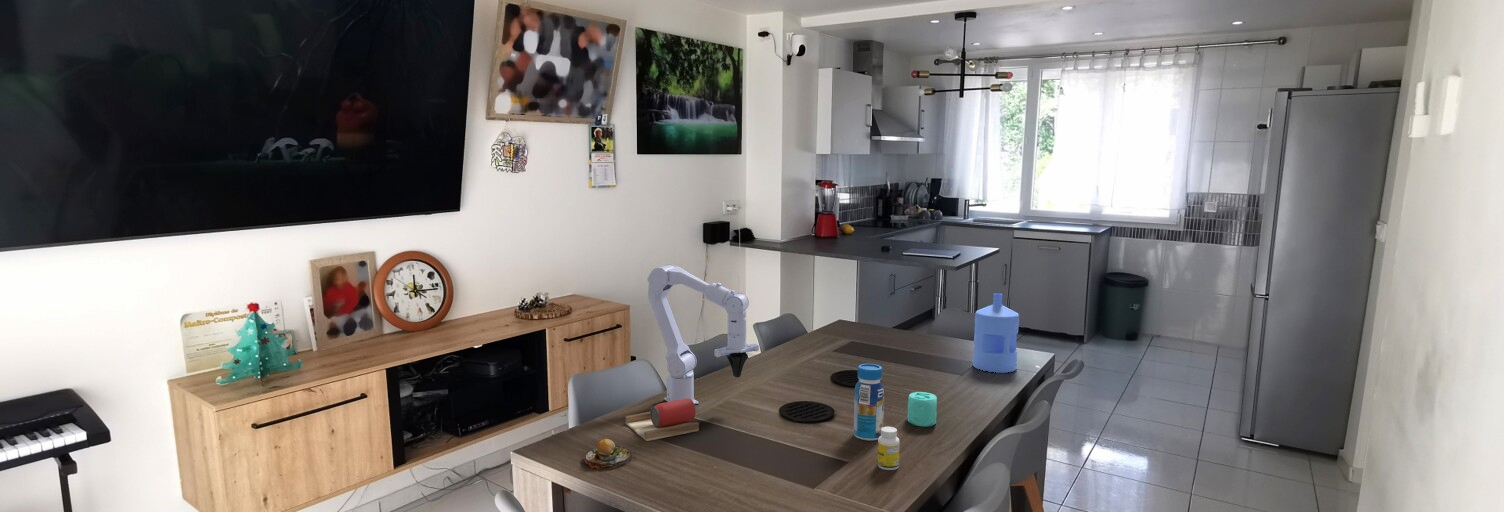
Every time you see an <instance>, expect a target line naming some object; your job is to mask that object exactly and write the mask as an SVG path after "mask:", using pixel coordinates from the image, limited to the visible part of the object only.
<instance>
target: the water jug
mask: <svg viewBox="0 0 1504 512" xmlns="http://www.w3.org/2000/svg"><path fill="white" fill-rule="evenodd" d="M1003 295H1004V294H1003V293H999V292H998V293H997V292H995V293H993V297H992V301H993V302H992V304H990V305H988V306H985V307H983V308H980V309H978V310H976V311H975V315H974V337H973V357H972V365H973V367H974V368H975V369H977V370H979V369H980V370H979V371H982V370H983V371H982V372H985V371H988V372H987V373H991V372H994V373H995V372H996V373H995V374H1007V373H1008V372H1009V373H1012V372H1015V371H1016V370H1017V368H1018V350H1017V336H1018V333H1019V327H1020V313H1018V312H1016V311H1015V310H1013V309H1010V308H1008V307H1007V306H1004V305H1003ZM994 373H993V374H994Z"/></svg>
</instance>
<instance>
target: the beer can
mask: <svg viewBox="0 0 1504 512" xmlns="http://www.w3.org/2000/svg"><path fill="white" fill-rule="evenodd" d="M649 412H650V416H651V421H652V423H653V425H654V426H662V427H664V426H669V425H674V424H678V423H683V422H691V421H693V420H695V418H696V414H697V409H696V404H694V403H693V401H692V400H691V399H689V398H687V399H681V400H676V401H671V402H667V401H665V402H661V403H658V404H656V405H654V406H651V409H650V411H649Z"/></svg>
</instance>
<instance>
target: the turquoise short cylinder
mask: <svg viewBox="0 0 1504 512" xmlns="http://www.w3.org/2000/svg"><path fill="white" fill-rule="evenodd" d="M937 405H938V397H937V396H936V395H935V394H933V393H930V392H924V391H915V392H910V394H909V395H908V400H907V422H908V423H909V424H911V425H913V426H916V427H921V428H922V427H925V428H926V427H928V428H929V427H932V426H935V424H936V423H937V408H938V407H937Z"/></svg>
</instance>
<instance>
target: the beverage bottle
mask: <svg viewBox="0 0 1504 512" xmlns="http://www.w3.org/2000/svg"><path fill="white" fill-rule="evenodd" d="M857 378H858V380H857V382H856V383H855V387H854V392H855V394H854V396H853V403H854V405H853V408H854V409H853V436H854V437H856V438H857V439H859V440H862V441H868V442H869V441H878V438H879V437H880V436H882V435H881V428H883V427H884V411H885V397H884V393H885V389H884V385H883V384H882V382H881V380H882V379H883V367H882V366H881V365H879V364H875V363H863V364H862V363H861V364H859V365H858V366H857Z"/></svg>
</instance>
